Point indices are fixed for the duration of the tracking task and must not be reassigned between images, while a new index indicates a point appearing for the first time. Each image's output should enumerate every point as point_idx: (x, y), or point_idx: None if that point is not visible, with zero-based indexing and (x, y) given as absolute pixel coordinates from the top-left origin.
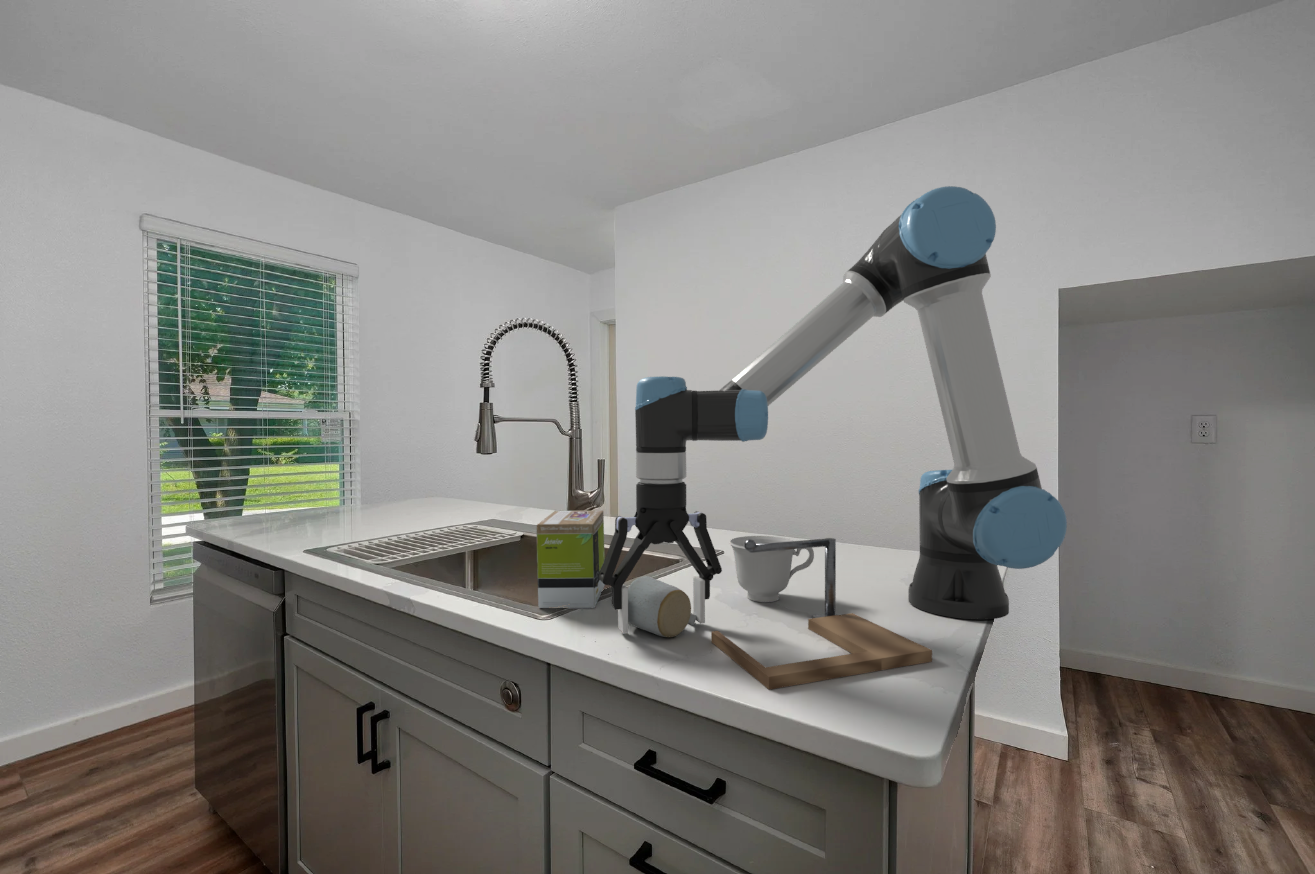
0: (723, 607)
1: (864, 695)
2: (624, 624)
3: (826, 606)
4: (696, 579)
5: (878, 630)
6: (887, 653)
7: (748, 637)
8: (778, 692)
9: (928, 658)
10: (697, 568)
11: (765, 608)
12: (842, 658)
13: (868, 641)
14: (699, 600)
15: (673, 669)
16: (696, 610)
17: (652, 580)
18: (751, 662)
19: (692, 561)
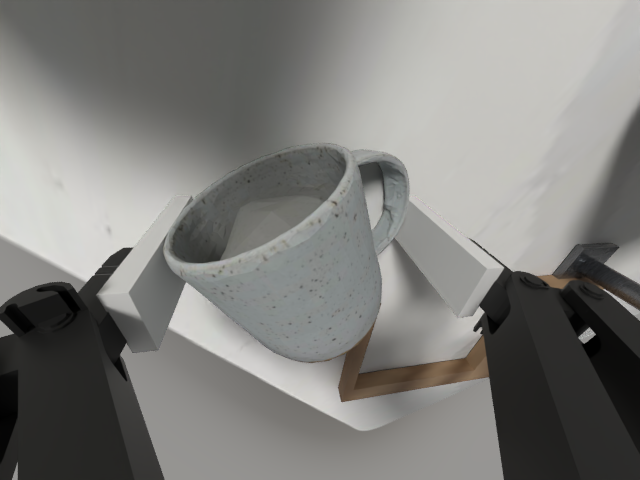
0: (557, 93)
1: (401, 394)
2: None
3: (602, 282)
4: (470, 290)
5: None
6: (481, 374)
7: (427, 284)
8: None
9: None
10: (491, 350)
11: (606, 152)
12: (437, 379)
13: None
14: (421, 266)
15: (259, 351)
16: (411, 227)
17: (292, 308)
18: (347, 382)
19: (499, 386)
